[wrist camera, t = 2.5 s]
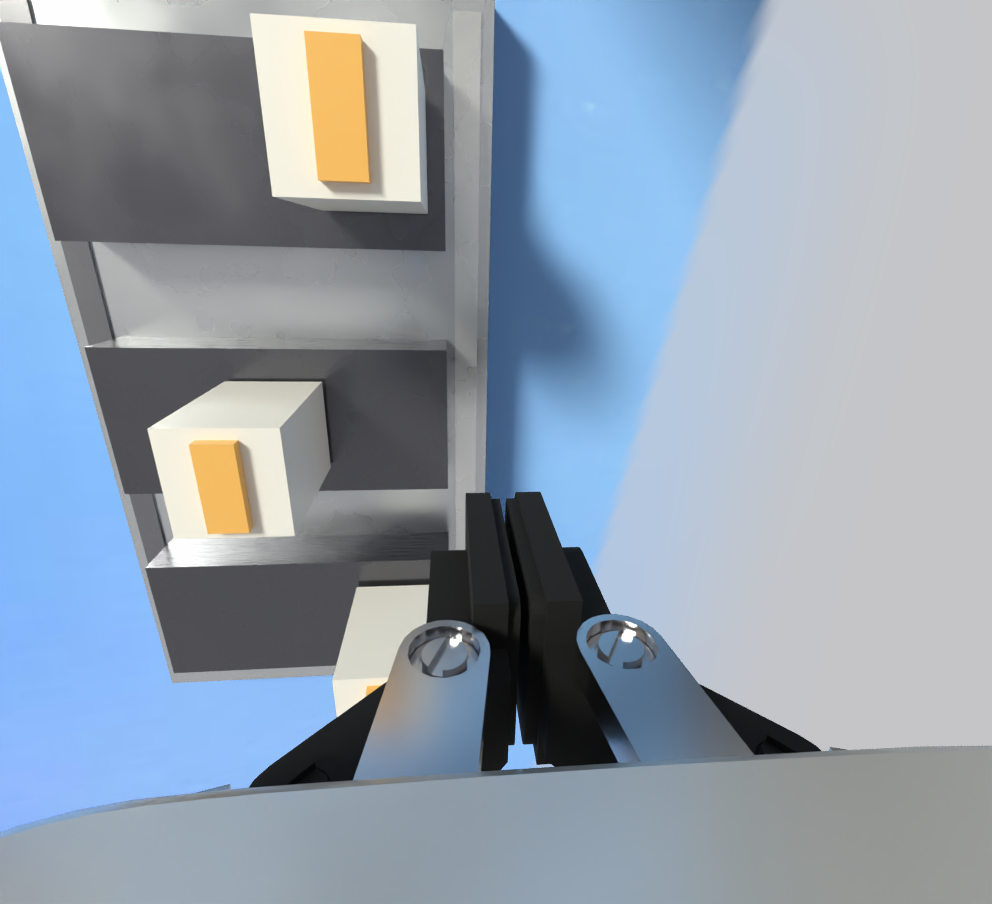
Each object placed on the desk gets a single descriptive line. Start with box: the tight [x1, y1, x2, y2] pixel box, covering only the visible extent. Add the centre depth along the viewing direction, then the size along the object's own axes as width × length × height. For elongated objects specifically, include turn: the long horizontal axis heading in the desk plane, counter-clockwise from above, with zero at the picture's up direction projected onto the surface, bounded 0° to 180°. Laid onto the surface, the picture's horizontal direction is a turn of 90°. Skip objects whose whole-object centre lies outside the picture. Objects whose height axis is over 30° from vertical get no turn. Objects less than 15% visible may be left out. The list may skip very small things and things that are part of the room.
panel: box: [0, 0, 495, 683], centre depth 19 cm, size 26×14×4 cm, turn 179°
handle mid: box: [147, 381, 331, 539], centre depth 15 cm, size 3×3×5 cm
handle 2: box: [332, 585, 429, 717], centre depth 18 cm, size 3×3×5 cm
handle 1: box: [250, 13, 428, 214], centre depth 12 cm, size 3×3×5 cm
